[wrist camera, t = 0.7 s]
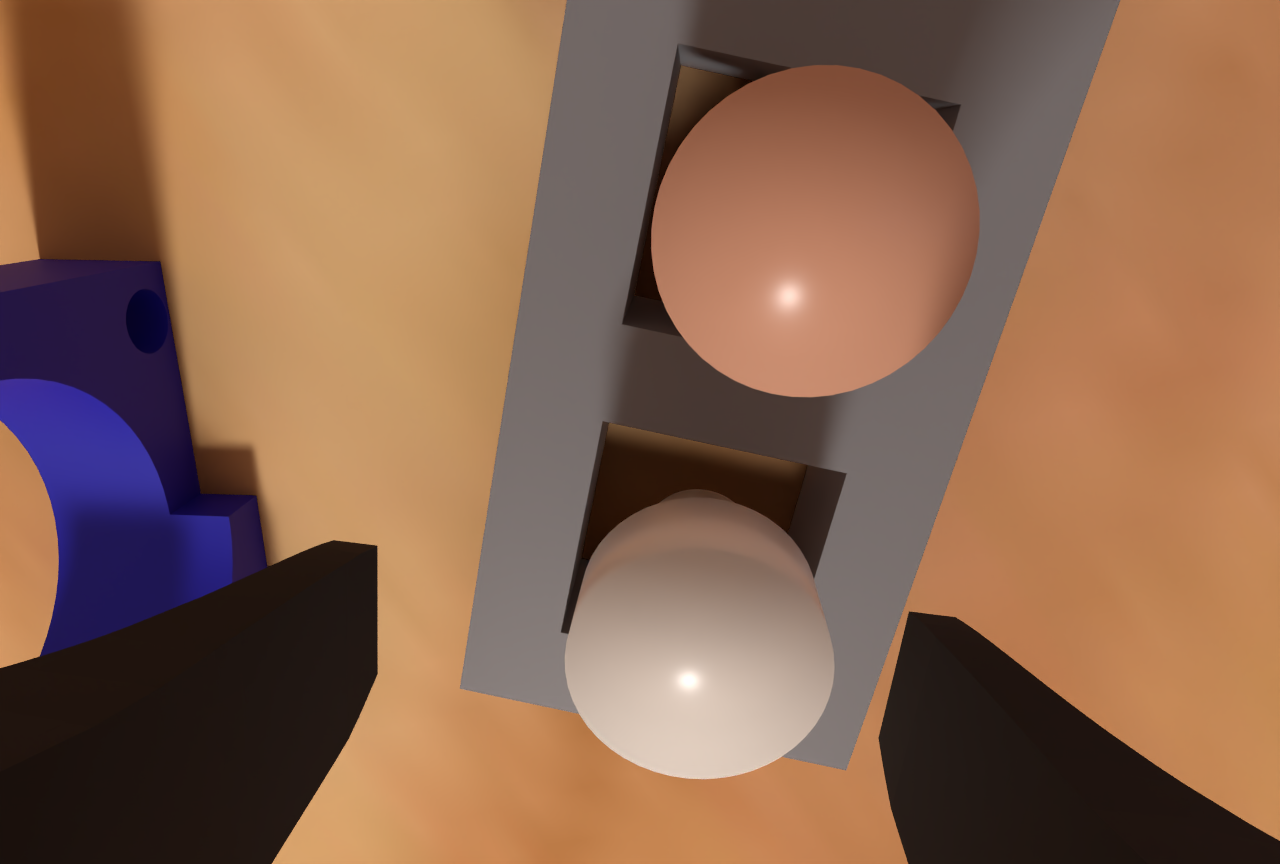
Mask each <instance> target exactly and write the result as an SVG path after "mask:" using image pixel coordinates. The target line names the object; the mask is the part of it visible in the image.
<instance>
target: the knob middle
mask: <svg viewBox="0 0 1280 864" xmlns="http://www.w3.org/2000/svg"><path fill="white" fill-rule="evenodd" d="M979 233H980V209H979V202H978V194H977V188H976V184H975V180H974V177H973V173H972V169H971V166H970V164H969V162H968V159H967V157H966V155H965V152H964V150H963V148H962V146H961V144H960V142H959V141H958V139H957V138H956V136H955V134H954V133H953V131H952V129H951V128H950V127H949V125H948V124H947V123H946V122H945V121H944V119H943V118H942V117H941V116H940V115H939V114H938V112H937V111H936V110H935V109H934V108H932V107H931V106H930V105H929V104H928V103H927V102H926V101H925V100H923V99H922V98H921V97H920V96H919V95H917V94H916V93H914V92H913V91H911V90H910V89H908V88H906V87H905V86H903V85H902V84H900V83H898V82H896V81H894V80H891V79H889V78H887V77H885V76H883V75H880V74H877V73H874V72H870V71H867V70H863V69H860V68H854V67H846V66H839V65H812V66H804V67H797V68H791V69H787V70H784V71H780V72H777V73H773V74H770V75H767V76H765V77H763V78H760V79H758V80H756V81H753V82H751V83H749V84H747V85H745V86H744V87H742V88H740V89H739V90H737V91H735V92H734V93H732V94H730V95H729V96H727V97H726V98H725V99H724V100H722V101H721V102H720V103H719V104H717V105H716V106H715V107H714V108H712V109H711V110H710V111H709V112H708V113H707V114H706V115H705V116H704V117H703V118H702V119H701V120H700V121H699V122H698V123H697V124H696V125H695V126H694V127H693V129H692V130H691V131H690V133H689V134H688V135H687V137H686V138H685V139H684V141H683V142H682V143H681V145H680V146H679V148H678V150H677V152H676V153H675V155H674V157H673V159H672V160H671V162H670V164H669V166H668V168H667V171H666V173H665V176H664V178H663V180H662V183H661V185H660V189H659V192H658V196H657V200H656V204H655V207H654V214H653V222H652V229H651V252H652V261H653V269H654V274H655V278H656V282H657V286H658V290H659V293H660V296H661V298H662V301H663V303H664V306H665V308H666V311H667V312H668V314H669V316H670V318H671V320H672V321H673V323H674V325H675V327H676V328H677V330H678V331H679V332H680V334H681V335H682V336H683V338H684V339H685V340H686V342H687V343H688V344H689V345H690V346H691V347H692V349H693V350H694V351H695V352H696V353H697V354H698V355H699V356H700V357H701V358H702V359H704V360H705V361H706V362H707V363H709V364H710V365H711V366H712V367H714V368H715V369H716V370H718V371H719V372H721V373H723V374H724V375H726V376H728V377H729V378H731V379H733V380H734V381H737V382H739V383H741V384H744V385H746V386H748V387H751V388H753V389H757V390H760V391H764V392H767V393H771V394H776V395H783V396H790V397H819V396H829V395H835V394H839V393H844V392H848V391H852V390H855V389H858V388H861V387H864V386H866V385H869V384H872V383H874V382H876V381H878V380H880V379H882V378H884V377H886V376H888V375H890V374H891V373H893V372H894V371H896V370H897V369H899V368H900V367H902V366H903V365H905V364H907V363H908V362H909V361H910V360H912V359H913V358H914V357H915V356H916V355H917V354H919V353H920V352H921V351H922V350H923V349H925V347H926V346H927V345H928V344H929V343H930V342H931V341H932V340H933V339H934V338H935V337H936V336H937V335H938V333H939V332H940V331H941V330H942V328H943V327H944V325H945V324H946V323H947V321H948V320H949V319H950V317H951V316H952V314H953V312H954V311H955V309H956V307H957V305H958V303H959V302H960V300H961V298H962V296H963V294H964V291H965V289H966V286H967V284H968V282H969V279H970V277H971V273H972V270H973V266H974V262H975V258H976V255H977V248H978V240H979Z"/></svg>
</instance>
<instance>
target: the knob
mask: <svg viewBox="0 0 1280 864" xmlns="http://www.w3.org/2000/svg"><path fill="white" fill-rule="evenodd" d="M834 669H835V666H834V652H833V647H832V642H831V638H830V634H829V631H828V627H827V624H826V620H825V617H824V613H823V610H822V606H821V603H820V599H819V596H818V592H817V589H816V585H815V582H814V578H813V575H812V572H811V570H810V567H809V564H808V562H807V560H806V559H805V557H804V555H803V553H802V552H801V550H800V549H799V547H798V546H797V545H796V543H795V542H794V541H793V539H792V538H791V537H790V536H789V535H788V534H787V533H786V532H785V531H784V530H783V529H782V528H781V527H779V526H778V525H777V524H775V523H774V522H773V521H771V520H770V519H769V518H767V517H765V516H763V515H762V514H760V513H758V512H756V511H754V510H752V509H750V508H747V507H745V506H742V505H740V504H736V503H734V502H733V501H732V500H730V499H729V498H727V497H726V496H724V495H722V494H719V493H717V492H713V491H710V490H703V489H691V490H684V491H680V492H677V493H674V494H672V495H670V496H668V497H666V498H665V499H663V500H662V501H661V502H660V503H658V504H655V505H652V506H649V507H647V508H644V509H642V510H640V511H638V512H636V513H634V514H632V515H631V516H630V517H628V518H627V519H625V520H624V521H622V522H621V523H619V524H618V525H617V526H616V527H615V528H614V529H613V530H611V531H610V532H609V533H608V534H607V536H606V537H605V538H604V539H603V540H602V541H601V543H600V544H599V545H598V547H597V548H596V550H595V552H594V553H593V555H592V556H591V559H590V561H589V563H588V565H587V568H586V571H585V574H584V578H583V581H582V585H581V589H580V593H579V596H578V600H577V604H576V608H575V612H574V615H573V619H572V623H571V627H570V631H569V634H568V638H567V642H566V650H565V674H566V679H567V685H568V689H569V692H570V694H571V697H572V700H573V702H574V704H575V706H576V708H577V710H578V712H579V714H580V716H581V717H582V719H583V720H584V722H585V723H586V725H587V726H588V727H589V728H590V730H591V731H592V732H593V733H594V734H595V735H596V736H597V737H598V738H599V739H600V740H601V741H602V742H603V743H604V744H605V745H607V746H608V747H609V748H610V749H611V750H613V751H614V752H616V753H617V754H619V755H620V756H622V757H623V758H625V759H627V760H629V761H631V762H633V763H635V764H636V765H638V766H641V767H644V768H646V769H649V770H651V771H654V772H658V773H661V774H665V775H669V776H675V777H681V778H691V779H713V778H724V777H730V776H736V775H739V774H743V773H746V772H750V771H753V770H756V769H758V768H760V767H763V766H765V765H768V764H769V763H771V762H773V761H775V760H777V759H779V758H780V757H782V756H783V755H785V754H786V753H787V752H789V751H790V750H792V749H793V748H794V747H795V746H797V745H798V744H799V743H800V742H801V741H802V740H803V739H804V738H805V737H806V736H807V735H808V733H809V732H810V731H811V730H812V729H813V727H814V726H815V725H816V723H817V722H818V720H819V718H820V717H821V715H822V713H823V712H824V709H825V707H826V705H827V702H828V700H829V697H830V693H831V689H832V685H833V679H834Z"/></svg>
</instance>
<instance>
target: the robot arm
mask: <svg viewBox="0 0 1280 864" xmlns="http://www.w3.org/2000/svg"><path fill="white" fill-rule="evenodd" d="M377 674H378V664H377V546H375V545H367V544H359V543H351V542H343V541H335V540H333V541H330V542H327V543H324V544H321V545H318V546H315V547H313V548H310V549H308V550H305V551H303V552H301V553H298V554H296V555H294V556H291V557H289V558H287V559H285V560H282V561H280V562H278V563H276V564H274V565H271V566H269V567H267V568H265V569H263V570H260V571H258V572H256V573H254V574H251V575H249V576H247V577H245V578H242V579H240V580H238V581H236V582H233V583H231V584H229V585H227V586H224V587H222V588H220V589H218V590H216V591H213V592H211V593H209V594H206V595H204V596H202V597H199V598H197V599H194V600H192V601H190V602H187V603H185V604H182V605H180V606H177V607H175V608H172V609H170V610H167V611H165V612H162V613H160V614H157V615H155V616H152V617H150V618H148V619H145V620H143V621H140V622H138V623H135V624H133V625H130V626H128V627H125V628H123V629H120V630H117V631H114V632H112V633H109V634H106V635H103V636H101V637H98V638H95V639H92V640H89V641H86V642H83V643H80V644H77V645H74V646H71V647H68V648H65V649H62V650H59V651H56V652H52V653H49V654H46V655H43V656H40V657H37V658H34V659H30V660H27V661H24V662H20V663H17V664H14V665H10V666H7V667H3V668H0V864H272V862H273V861H274V859H275V857H276V856H277V854H278V852H279V851H280V849H281V848H282V846H283V844H284V843H285V841H286V840H287V838H288V836H289V835H290V833H291V832H292V830H293V828H294V827H295V825H296V824H297V822H298V820H299V819H300V817H301V816H302V814H303V812H304V811H305V809H306V808H307V806H308V804H309V803H310V801H311V800H312V798H313V796H314V795H315V793H316V792H317V790H318V788H319V787H320V785H321V783H322V782H323V780H324V779H325V777H326V775H327V774H328V772H329V770H330V769H331V767H332V766H333V764H334V762H335V761H336V759H337V757H338V756H339V754H340V752H341V751H342V749H343V747H344V746H345V744H346V742H347V741H348V739H349V737H350V735H351V733H352V731H353V728H354V726H355V724H356V722H357V720H358V718H359V715H360V713H361V711H362V709H363V707H364V704H365V702H366V700H367V697H368V695H369V693H370V690H371V688H372V686H373V683H374V681H375V679H376V676H377ZM879 743H880V749H881V755H882V762H883V768H884V774H885V779H886V784H887V790H888V795H889V800H890V805H891V810H892V813H893V816H894V819H895V823H896V826H897V829H898V832H899V836H900V839H901V842H902V845H903V848H904V851H905V854H906V858H907V861H908V864H1280V841H1279V840H1277V839H1275V838H1273V837H1272V836H1270V835H1268V834H1266V833H1265V832H1263V831H1261V830H1259V829H1257V828H1256V827H1254V826H1252V825H1251V824H1249V823H1247V822H1246V821H1244V820H1242V819H1241V818H1239V817H1237V816H1236V815H1234V814H1232V813H1231V812H1229V811H1228V810H1226V809H1224V808H1223V807H1221V806H1219V805H1218V804H1216V803H1214V802H1213V801H1211V800H1210V799H1208V798H1206V797H1205V796H1203V795H1201V794H1200V793H1198V792H1196V791H1195V790H1193V789H1192V788H1190V787H1188V786H1187V785H1185V784H1184V783H1182V782H1181V781H1179V780H1177V779H1176V778H1174V777H1173V776H1171V775H1170V774H1168V773H1167V772H1165V771H1164V770H1162V769H1161V768H1159V767H1158V766H1156V765H1155V764H1153V763H1152V762H1150V761H1149V760H1148V759H1146V758H1145V757H1143V756H1142V755H1140V754H1139V753H1138V752H1136V751H1135V750H1133V749H1132V748H1130V747H1129V746H1128V745H1126V744H1125V743H1123V742H1122V741H1120V740H1119V739H1117V738H1116V737H1115V736H1113V735H1112V734H1110V733H1109V732H1108V731H1106V730H1105V729H1103V728H1102V727H1101V726H1099V725H1098V724H1097V723H1095V722H1094V721H1093V720H1091V719H1090V718H1088V717H1087V716H1086V715H1084V714H1083V713H1082V712H1080V711H1079V710H1078V709H1076V708H1075V707H1074V706H1072V705H1071V704H1070V703H1069V702H1067V701H1066V700H1065V699H1063V698H1062V697H1061V696H1059V695H1058V694H1057V693H1055V692H1054V691H1053V690H1052V689H1050V688H1049V687H1048V686H1046V685H1045V684H1044V683H1043V682H1041V681H1040V680H1039V679H1037V678H1036V677H1035V676H1034V675H1032V674H1031V673H1030V672H1029V671H1027V670H1026V669H1025V668H1023V667H1022V666H1021V665H1020V664H1018V663H1017V662H1016V661H1015V660H1013V659H1012V658H1011V657H1009V656H1008V655H1007V654H1006V653H1004V652H1003V651H1002V650H1000V649H999V648H998V647H997V646H995V645H994V644H993V643H991V642H990V641H989V640H987V639H986V638H985V637H984V636H982V635H981V634H979V633H978V632H977V631H975V630H974V629H973V628H971V627H970V626H968V625H967V624H965V623H964V622H962V621H961V620H959V619H957V618H956V617H949V616H941V615H933V614H925V613H917V612H909V614H908V618H907V622H906V627H905V631H904V635H903V639H902V643H901V647H900V651H899V656H898V660H897V664H896V668H895V672H894V676H893V681H892V685H891V689H890V693H889V697H888V701H887V705H886V710H885V714H884V718H883V722H882V726H881V730H880V734H879Z"/></svg>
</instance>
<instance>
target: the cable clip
mask: <svg viewBox="0 0 1280 864" xmlns="http://www.w3.org/2000/svg"><path fill="white" fill-rule="evenodd" d="M0 420H1V421H2V422H3V423H4V424H5V425H6V426H7V427H8V428H9V429H10V430H11V431H12V432H13V433H14V435H15V436H16V437H17V438H18V439H19V441H20V442H21V443H22V445H23V446H24V447H25V449H26V450H27V451H28V453H29V454H30V456H31V458H32V460H33V461H34V463H35V465H36V466H37V468H38V470H39V472H40V475H41V477H42V479H43V481H44V483H45V486H46V489H47V492H48V495H49V498H50V500H51V504H52V508H53V513H54V517H55V522H56V529H57V536H58V550H59V571H58V584H57V593H56V600H55V605H54V610H53V615H52V619H51V623H50V627H49V630H48V634H47V637H46V640H45V643H44V646H43V649H42V652H41V655H40V656H43V655H46V654H49V653H52V652H56V651H59V650H62V649H65V648H68V647H71V646H74V645H77V644H80V643H83V642H86V641H89V640H92V639H95V638H98V637H101V636H103V635H106V634H109V633H112V632H114V631H117V630H120V629H123V628H125V627H128V626H130V625H133V624H135V623H138V622H140V621H143V620H145V619H148V618H150V617H152V616H155V615H157V614H160V613H162V612H165V611H167V610H170V609H172V608H175V607H177V606H180V605H182V604H185V603H187V602H190V601H192V600H194V599H197V598H199V597H202V596H204V595H206V594H209V593H211V592H213V591H216V590H218V589H220V588H222V587H224V586H227V585H229V584H231V583H233V582H236V581H238V580H240V579H242V578H245V577H247V576H249V575H251V574H254V573H256V572H258V571H260V570H263V569H265V568H267V562H266V556H265V549H264V542H263V536H262V529H261V523H260V516H259V510H258V503H257V496H256V495H227V494H201V492H200V486H199V481H198V475H197V469H196V463H195V458H194V452H193V446H192V441H191V435H190V429H189V423H188V418H187V412H186V406H185V401H184V395H183V389H182V383H181V378H180V372H179V366H178V361H177V355H176V349H175V344H174V338H173V332H172V326H171V321H170V315H169V309H168V304H167V298H166V292H165V286H164V281H163V275H162V269H161V264H160V261H109V260H54V259H38V260H32V261H25V262H19V263H12V264H6V265H0Z"/></svg>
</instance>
